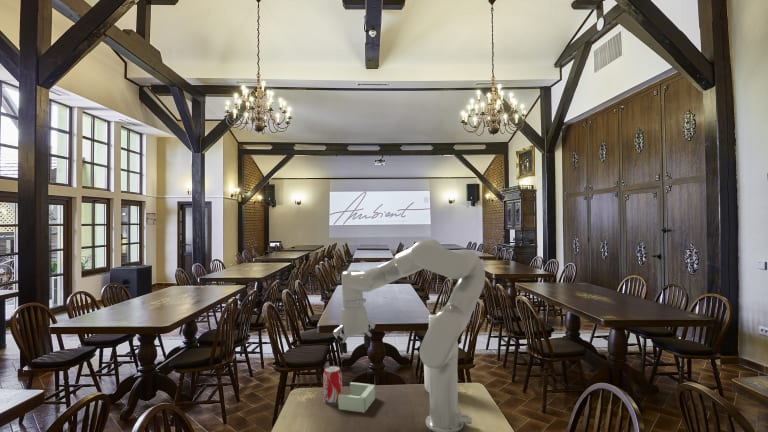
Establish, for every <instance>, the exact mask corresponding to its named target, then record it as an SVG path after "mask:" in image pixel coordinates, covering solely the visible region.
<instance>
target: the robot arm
mask: <svg viewBox="0 0 768 432" xmlns="http://www.w3.org/2000/svg"><path fill="white" fill-rule="evenodd" d="M423 269H425V270H426V271H430V272H432V273H434V274H436V275H437V274H438V275H440V276H443V277H446V278H449V279H451V280H452V279H453V280H457V282H456V284H455V286H454V288H453V289H452V293H451V294H450V297H449V298H448V301H447V303H446V304H445V305H444V306H443V307H442V308H440V310H438V311H437V312H436V314H434V315H435V316H434V318H433V320H432V322H431V324H430V326H429V325H428V329H427V331H426V333H425V335H424V337H423V339H422V342H421V344H420V347H419V358H420V360H421V363H422V364H423V366H424V365H426V366H427V367H429V392H428V394H429V415H428V416H427V417H426V418H425V425H426V427H427V429H429V430H430V431H432V432H459V431H461V430H462V429H463V428H464V424H467V425H473V419H472V417H470V414H464V413H462V412H461V408H459V393H458V392H459V391H458V389H459V388H458V386H459V385H458V378H459V377H458V360H459V343H458V339H459V338H460V336H461V334H462V332H463V331H464V330H465V329H466V328H467V326H468V324H469V321H470V318H472V314H473V312H474V310H475V308H476V305H477V303H478V301H479V298H480V296H481V294H482V292H483V289H484V286H485V281H486V271H485V266H484V264H483V262H482V260H481V258H480V257H479V255H478V254H476V252H475V251H472V250H470V249H462V248H461V249H458V250H455V251H454V250H452V249H451V250H450V249H448V248H444V247H443V246H442V244H441V242H440V241H439V240H437V239H434V238H427V239H423V240H419V241H417V242H415V244H413V245H412V246H410V247H408V248H406V249H404V250H402V251H400V252H398V253H396V254H395V255H394V256H393V258H392V259H390V260H389V261H386V262H385V263H382V264H381V265H377V266H376V267H373V268H369V269H367V270H363V271H361V270H359V269H349V270H344V271H342V273H341V275H340V276H341V291H342V307H341V309H340V315H339V316H340V317H339V326H338V327H337V328H335V329H334V330H333V331H332V333H333V335H334V337H335V339H336V340H338V341H339V343H340V351H341V353H343V354H345V355H346V354H348V343H347V342H346V341H347V339H348V338H349V337H353V336H357V335H362V334H364V335H363V342H364V343H363V344H364V347H366V348H368V349H369V348H371V337H372V334H373V332H374V330H375V327H376V323H375V322H373V321H371V320H368V319H369V318H368V312H367V309H366V305H365V304H364V303H366V302H367V299H366V298H364V292H365V293H370V292H372V291H375V290H376V289H379V288H382V287H384V286H386V285H388V284H390V283H393V282H395V281H397V280H400V279H402V278H405V277H408V276H411V275H413V274H416V273H417V272H419V271H422V270H423ZM369 325H370V326H369ZM340 334H341V335H340Z"/></svg>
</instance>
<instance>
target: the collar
mask: <svg viewBox="0 0 768 432" xmlns="http://www.w3.org/2000/svg"><path fill="white" fill-rule="evenodd" d="M376 389H377V388H376V384H371V383H363V382H362V383H361V382H354V381H353V382H352V381H351V382H350V383H349V394H343V393H342V394H339V395H338V402H339V404H338V410H343V411H350V412H357V413H366V412H367V411H368V409H369V407H370V406H371V405H372V403H374V401H375V400H376V398H377V396H376V395H377V393H376Z"/></svg>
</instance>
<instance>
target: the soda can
mask: <svg viewBox="0 0 768 432" xmlns="http://www.w3.org/2000/svg"><path fill="white" fill-rule="evenodd" d="M322 375H323V377H322V381H323V382H322V384H323V399H324V400H325V401H326V402H328V403H337V402H338V395H339V394H343V375H342V371H341V368H340V366H337V365H330V366H326V367H325V368H324V371H323V374H322Z"/></svg>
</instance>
